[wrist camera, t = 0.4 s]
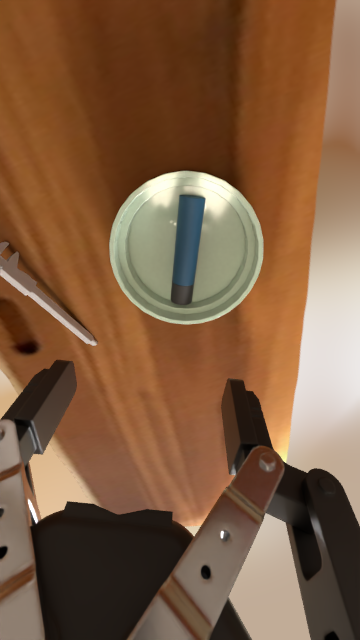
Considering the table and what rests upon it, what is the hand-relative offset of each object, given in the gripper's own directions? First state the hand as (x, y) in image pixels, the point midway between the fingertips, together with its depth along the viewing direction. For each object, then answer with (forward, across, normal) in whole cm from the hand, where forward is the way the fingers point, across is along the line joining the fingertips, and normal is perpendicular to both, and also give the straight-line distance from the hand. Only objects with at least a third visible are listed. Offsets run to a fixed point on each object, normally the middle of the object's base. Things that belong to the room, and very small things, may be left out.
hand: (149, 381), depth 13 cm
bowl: (+26, -1, 0) cm, 26 cm away
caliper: (+26, +19, +10) cm, 34 cm away
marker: (+26, -1, 0) cm, 26 cm away
